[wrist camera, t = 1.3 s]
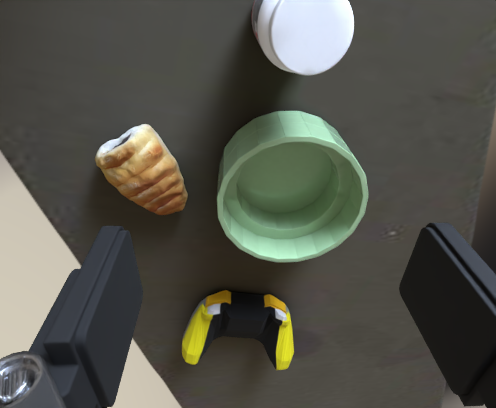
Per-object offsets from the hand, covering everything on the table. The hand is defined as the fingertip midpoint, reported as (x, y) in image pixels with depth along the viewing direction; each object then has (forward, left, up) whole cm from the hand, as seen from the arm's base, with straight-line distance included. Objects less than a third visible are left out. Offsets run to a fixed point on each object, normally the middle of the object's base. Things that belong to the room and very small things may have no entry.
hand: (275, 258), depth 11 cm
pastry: (+8, -10, -23) cm, 26 cm away
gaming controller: (+31, -1, -23) cm, 38 cm away
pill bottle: (-5, +3, -23) cm, 23 cm away
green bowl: (+9, +4, -23) cm, 24 cm away
